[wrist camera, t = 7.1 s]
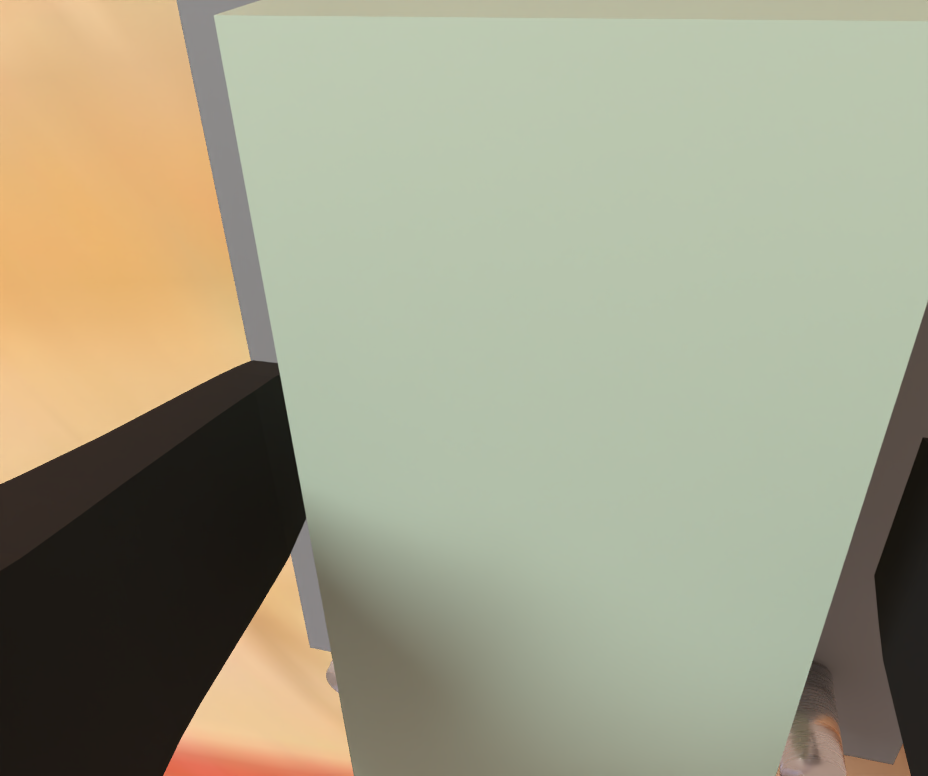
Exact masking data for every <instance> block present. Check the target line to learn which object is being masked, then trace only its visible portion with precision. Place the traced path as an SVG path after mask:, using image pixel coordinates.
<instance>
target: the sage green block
mask: <svg viewBox="0 0 928 776" xmlns="http://www.w3.org/2000/svg"><path fill="white" fill-rule="evenodd" d="M214 20H215V25H216V31H217V36H218V42H219V47H220V52H221V58H222V63H223V69H224V74H225V79H226V85H227V90H228V96H229V101H230V107H231V112H232V117H233V123H234V128H235V134H236V139H237V144H238V150H239V155H240V161H241V166H242V172H243V177H244V182H245V188H246V193H247V199H248V204H249V209H250V215H251V220H252V226H253V231H254V237H255V242H256V247H257V253H258V258H259V264H260V269H261V274H262V280H263V285H264V291H265V296H266V302H267V307H268V312H269V318H270V323H271V329H272V334H273V339H274V345H275V350H276V356H277V361H278V367H279V372H280V377H281V383H282V388H283V394H284V399H285V404H286V410H287V415H288V421H289V426H290V432H291V437H292V442H293V448H294V453H295V459H296V464H297V469H298V475H299V480H300V486H301V491H302V497H303V502H304V507H305V513H306V518H307V524H308V529H309V534H310V540H311V545H312V551H313V556H314V562H315V567H316V572H317V578H318V583H319V589H320V594H321V599H322V605H323V610H324V616H325V621H326V627H327V632H328V637H329V643H330V648H331V654H332V659H333V664H334V670H335V675H336V681H337V686H338V692H339V697H340V702H341V708H342V713H343V719H344V724H345V729H346V735H347V740H348V746H349V751H350V757H351V762H352V767H353V773H354V776H776V773H777V770H778V767H779V764H780V761H781V758H782V755H783V751H784V748H785V745H786V742H787V739H788V736H789V733H790V730H791V726H792V723H793V720H794V717H795V714H796V711H797V708H798V705H799V701H800V698H801V695H802V692H803V689H804V686H805V683H806V680H807V677H808V673H809V670H810V667H811V664H812V661H813V658H814V655H815V652H816V648H817V645H818V642H819V639H820V636H821V633H822V630H823V627H824V623H825V620H826V617H827V614H828V611H829V608H830V605H831V602H832V599H833V595H834V592H835V589H836V586H837V583H838V580H839V577H840V574H841V570H842V567H843V564H844V561H845V558H846V555H847V552H848V549H849V545H850V542H851V539H852V536H853V533H854V530H855V527H856V524H857V521H858V517H859V514H860V511H861V508H862V505H863V502H864V499H865V496H866V492H867V489H868V486H869V483H870V480H871V477H872V474H873V471H874V467H875V464H876V461H877V458H878V455H879V452H880V449H881V446H882V443H883V439H884V436H885V433H886V430H887V427H888V424H889V421H890V418H891V414H892V411H893V408H894V405H895V402H896V399H897V396H898V393H899V389H900V386H901V383H902V380H903V377H904V374H905V371H906V368H907V365H908V361H909V358H910V355H911V352H912V349H913V346H914V343H915V340H916V336H917V333H918V330H919V327H920V324H921V321H922V318H923V315H924V311H925V308H926V305H927V302H928V0H260V1H257V2H253V3H250V4H247V5H244V6H241V7H238V8H235V9H232V10H228V11H225V12H222V13H219V14H216V15H214Z"/></svg>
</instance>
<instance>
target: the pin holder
mask: <svg viewBox="0 0 928 776" xmlns="http://www.w3.org/2000/svg"><path fill="white" fill-rule="evenodd" d="M257 1H260V0H177V5H178V10H179V14H180V19H181V24H182V29H183V34H184V39H185V43H186V48H187V53H188V58H189V63H190V68H191V73H192V77H193V82H194V87H195V92H196V97H197V102H198V106H199V111H200V116H201V121H202V126H203V131H204V136H205V140H206V145H207V150H208V155H209V160H210V165H211V169H212V174H213V179H214V184H215V189H216V194H217V198H218V203H219V208H220V213H221V218H222V223H223V228H224V232H225V237H226V242H227V247H228V252H229V257H230V261H231V266H232V271H233V276H234V281H235V286H236V291H237V295H238V300H239V305H240V310H241V315H242V320H243V324H244V329H245V334H246V339H247V344H248V349H249V354H250V358H251V361H252V360H256V361H264V362H273V363H278V361H277V356H276V350H275V345H274V339H273V334H272V329H271V323H270V318H269V312H268V307H267V302H266V296H265V291H264V285H263V280H262V274H261V269H260V264H259V258H258V253H257V247H256V242H255V237H254V231H253V226H252V220H251V215H250V209H249V204H248V199H247V193H246V188H245V182H244V177H243V172H242V166H241V161H240V155H239V150H238V144H237V139H236V134H235V128H234V123H233V117H232V112H231V107H230V101H229V96H228V90H227V85H226V79H225V74H224V69H223V63H222V58H221V52H220V47H219V42H218V36H217V31H216V25H215V20H214V15H216V14H219V13H222V12H225V11H228V10H232V9H235V8H238V7H241V6H244V5H247V4H250V3H253V2H257ZM923 437H925V438H928V302H927V305H926V308H925V311H924V315H923V318H922V321H921V324H920V327H919V330H918V333H917V336H916V340H915V343H914V346H913V349H912V352H911V355H910V358H909V361H908V365H907V368H906V371H905V374H904V377H903V380H902V383H901V386H900V389H899V393H898V396H897V399H896V402H895V405H894V408H893V411H892V414H891V418H890V421H889V424H888V427H887V430H886V433H885V436H884V439H883V443H882V446H881V449H880V452H879V455H878V458H877V461H876V464H875V467H874V471H873V474H872V477H871V480H870V483H869V486H868V489H867V492H866V496H865V499H864V502H863V505H862V508H861V511H860V514H859V517H858V521H857V524H856V527H855V530H854V533H853V536H852V539H851V542H850V545H849V549H848V552H847V555H846V558H845V561H844V564H843V567H842V570H841V574H840V577H839V580H838V583H837V586H836V589H835V592H834V595H833V599H832V602H831V605H830V608H829V611H828V614H827V617H826V620H825V623H824V627H823V630H822V633H821V636H820V639H819V642H818V645H817V648H816V652H815V655H814V658H813V661H812V664H811V667H810V670H809V673H808V677H807V680H806V683H805V686H804V689H803V692H802V695H801V698H800V701H799V705H798V708H797V711H796V714H795V717H794V720H793V723H792V726H791V730H790V733H789V736H788V739H787V742H786V745H785V748H784V751H783V755H782V758H781V761H780V776H847V775H846V768H845V761H844V755H848V756H853V757H858V758H863V759H868V760H873V761H878V762H883V763H888V764H892V765H893V764H894V762H895V759H896V757H897V755H898V753H899V751H900V748H901V746H902V744H903V741H902V737H901V733H900V729H899V725H898V721H897V717H896V713H895V709H894V705H893V700H892V696H891V692H890V688H889V684H888V680H887V675H886V671H885V667H884V662H883V656H882V648H881V639H880V631H879V622H878V612H877V601H876V590H875V579H874V574H875V571H876V568H877V566H878V563H879V560H880V557H881V554H882V551H883V549H884V546H885V543H886V540H887V537H888V534H889V532H890V529H891V526H892V523H893V520H894V517H895V515H896V512H897V509H898V506H899V503H900V500H901V498H902V495H903V492H904V489H905V486H906V483H907V481H908V478H909V475H910V472H911V469H912V466H913V463H914V461H915V458H916V455H917V452H918V449H919V446H920V444H921V441H922V438H923ZM291 557H292V562H293V567H294V572H295V576H296V581H297V586H298V591H299V596H300V601H301V605H302V610H303V615H304V620H305V625H306V630H307V634H308V639H309V644H310V648H315V649H320V650H325V651H330V652H331V648H330V643H329V637H328V632H327V627H326V621H325V616H324V610H323V605H322V599H321V594H320V589H319V583H318V578H317V572H316V567H315V562H314V556H313V551H312V545H311V540H310V534H309V529H308V524H307V518H306V520H305V522H304V525H303V527H302V529H301V532H300V534H299V536H298V538H297V541H296V543H295V545H294V547H293V549H292V552H291ZM326 678H327V681H328V682H329V684H330V685H331V687H332V688H333V689H334V690H336V691H337V692H338V686H337V681H336V675H335V670H334V664H333V660H332V662H331V664H330V666H329V668H328V670H327V673H326ZM338 693H339V692H338Z"/></svg>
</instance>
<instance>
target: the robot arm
mask: <svg viewBox="0 0 928 776" xmlns="http://www.w3.org/2000/svg"><path fill="white" fill-rule="evenodd" d="M305 520H306V513H305V507H304V502H303V497H302V491H301V486H300V480H299V475H298V469H297V464H296V459H295V453H294V448H293V442H292V437H291V432H290V426H289V421H288V415H287V410H286V404H285V399H284V394H283V388H282V383H281V377H280V372H279V367H278V363H273V362H264V361H256V360H252V361H250V362H247V363H245V364H242V365H240V366H237V367H235V368H233V369H231V370H229V371H227V372H224V373H222V374H220V375H218V376H216V377H214V378H212V379H210V380H208V381H206V382H204V383H202V384H200V385H199V386H197V387H195V388H193V389H191V390H189V391H187V392H185V393H183V394H181V395H179V396H177V397H176V398H174V399H172V400H170V401H168V402H166V403H164V404H162V405H160V406H158V407H156V408H155V409H153V410H151V411H149V412H147V413H145V414H143V415H141V416H139V417H137V418H135V419H134V420H132V421H130V422H128V423H126V424H124V425H122V426H120V427H118V428H116V429H114V430H112V431H111V432H109V433H107V434H105V435H103V436H101V437H99V438H97V439H95V440H93V441H91V442H88V443H86V444H84V445H82V446H80V447H78V448H76V449H74V450H72V451H70V452H68V453H66V454H64V455H61V456H59V457H57V458H55V459H53V460H51V461H49V462H47V463H45V464H43V465H41V466H39V467H36V468H34V469H32V470H30V471H28V472H26V473H24V474H22V475H20V476H18V477H16V478H13V479H11V480H9V481H7V482H4V483H2V484H0V776H163V775H164V772H165V770H166V768H167V766H168V764H169V762H170V760H171V758H172V756H173V754H174V752H175V750H176V747H177V745H178V743H179V741H180V739H181V737H182V736H183V734H184V732H185V730H186V728H187V727H188V725H189V723H190V721H191V719H192V718H193V716H194V714H195V712H196V710H197V709H198V707H199V705H200V703H201V702H202V700H203V698H204V697H205V695H206V694H207V692H208V690H209V689H210V687H211V685H212V684H213V682H214V680H215V679H216V677H217V676H218V674H219V672H220V671H221V669H222V667H223V666H224V664H225V662H226V661H227V659H228V658H229V656H230V654H231V653H232V651H233V649H234V648H235V646H236V644H237V643H238V641H239V640H240V638H241V636H242V635H243V633H244V631H245V630H246V628H247V627H248V625H249V623H250V622H251V620H252V618H253V617H254V615H255V613H256V612H257V610H258V609H259V607H260V605H261V604H262V602H263V600H264V599H265V597H266V595H267V593H268V592H269V590H270V588H271V587H272V585H273V583H274V582H275V580H276V578H277V577H278V575H279V573H280V572H281V570H282V568H283V567H284V565H285V563H286V561H287V560H288V558H289V556H290V554H291V552H292V549H293V547H294V545H295V543H296V541H297V538H298V536H299V534H300V532H301V529H302V527H303V525H304V522H305ZM874 579H875V590H876V601H877V612H878V622H879V631H880V639H881V648H882V656H883V662H884V667H885V671H886V675H887V680H888V684H889V688H890V692H891V696H892V700H893V705H894V709H895V713H896V717H897V721H898V725H899V729H900V733H901V737H902V741H903V745H904V749H905V753H906V757H907V761H908V765H909V769H910V773H911V776H928V438H925V437H923V438H922V441H921V444H920V446H919V449H918V452H917V455H916V458H915V461H914V463H913V466H912V469H911V472H910V475H909V478H908V481H907V483H906V486H905V489H904V492H903V495H902V498H901V500H900V503H899V506H898V509H897V512H896V515H895V517H894V520H893V523H892V526H891V529H890V532H889V534H888V537H887V540H886V543H885V546H884V549H883V551H882V554H881V557H880V560H879V563H878V566H877V568H876V571H875V574H874Z"/></svg>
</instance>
